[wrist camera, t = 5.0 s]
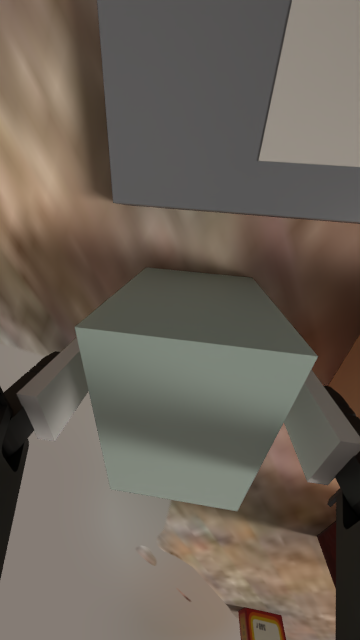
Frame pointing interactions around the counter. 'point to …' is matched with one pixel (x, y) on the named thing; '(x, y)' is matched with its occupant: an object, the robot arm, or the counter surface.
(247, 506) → the counter surface
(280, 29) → the base plate
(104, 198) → the counter surface
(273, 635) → the baking soda box
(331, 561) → the toy vending machine
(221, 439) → the sage brick
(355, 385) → the terracotta brick
